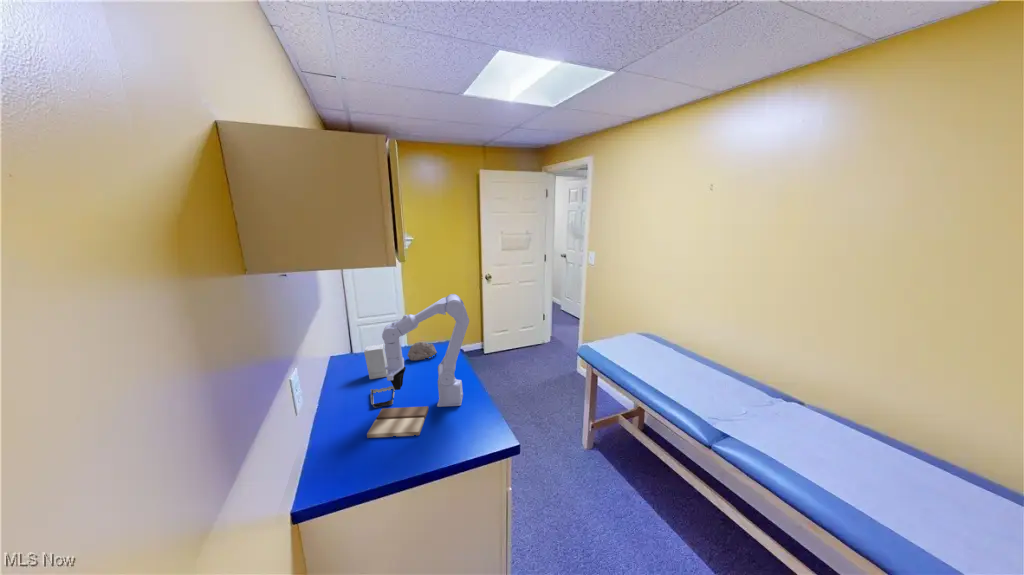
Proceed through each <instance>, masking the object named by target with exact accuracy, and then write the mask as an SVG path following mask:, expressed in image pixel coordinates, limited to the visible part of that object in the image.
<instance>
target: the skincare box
mask: <svg viewBox="0 0 1024 575" xmlns="http://www.w3.org/2000/svg"><path fill="white" fill-rule="evenodd" d="M363 352H364V358H365V363H366V367H367V372H368V377H369V380H375V379H380V378H387V374H388V372H387V369H385V366H387V359H386V352H385V343H381V344H374V345H373V344H372V345H367V346H365V349H364V351H363Z"/></svg>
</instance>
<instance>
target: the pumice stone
mask: <svg viewBox="0 0 1024 575" xmlns="http://www.w3.org/2000/svg"><path fill="white" fill-rule="evenodd" d="M436 353H437V354H438V352H437V350H436V347H435V345H434V343H427V342H415V343H413V345H411V346H410V348H409V350H408V352H407V355H406V356H407V357H408V359H409V360H410V361H420V360H426V359H425V358H428V359H430V358H429V357H432V356H433V355H435V354H436ZM437 354H436V355H437ZM436 355H435V356H436ZM432 358H433V357H432Z"/></svg>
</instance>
